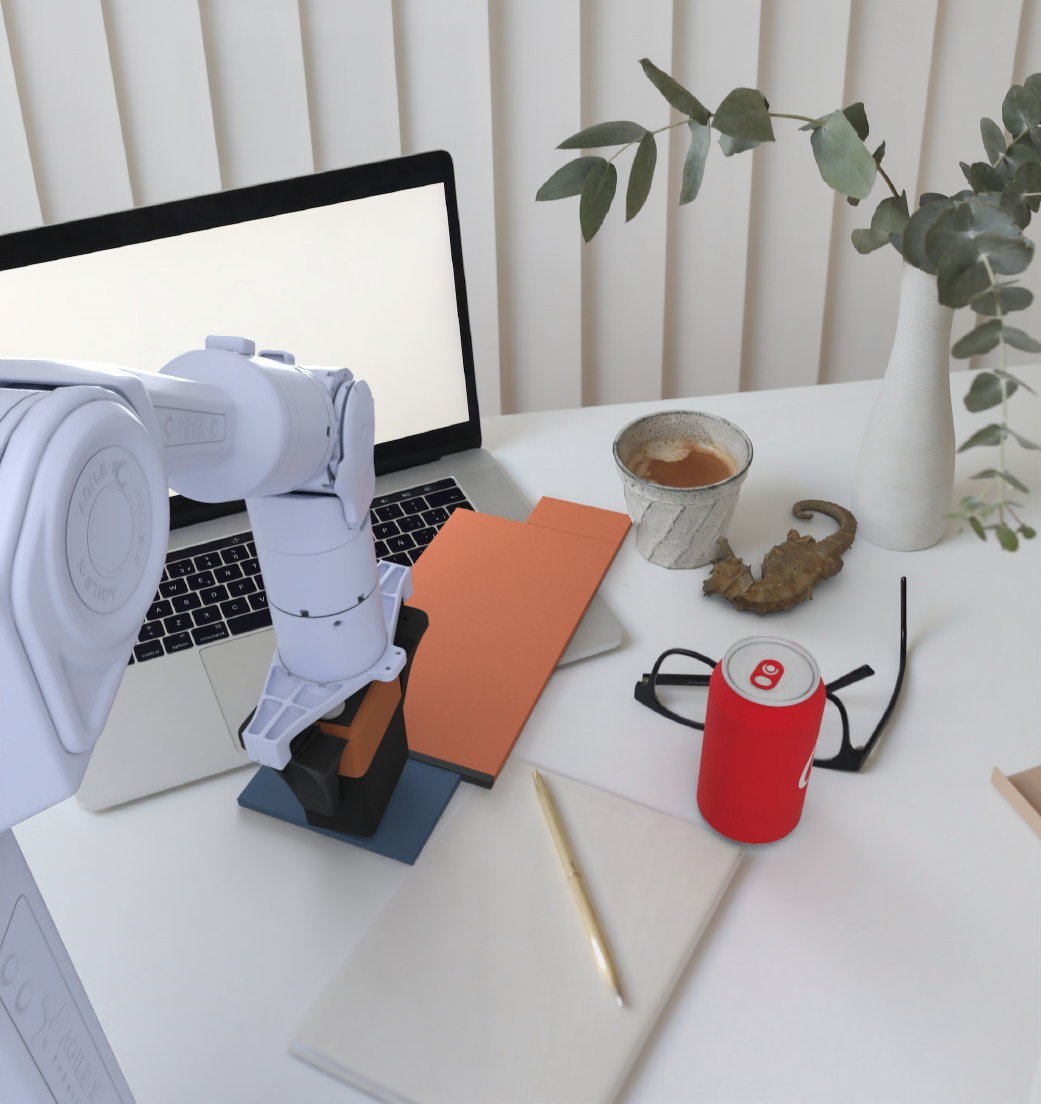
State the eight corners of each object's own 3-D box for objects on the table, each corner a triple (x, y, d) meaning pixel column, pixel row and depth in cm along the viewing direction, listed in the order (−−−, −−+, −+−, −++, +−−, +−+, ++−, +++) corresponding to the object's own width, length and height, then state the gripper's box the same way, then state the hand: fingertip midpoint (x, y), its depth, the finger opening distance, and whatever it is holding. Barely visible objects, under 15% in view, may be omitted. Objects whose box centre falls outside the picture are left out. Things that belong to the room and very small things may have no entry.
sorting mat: (444, 877, 61) (443, 870, 61) (237, 805, 66) (235, 797, 65) (634, 521, 87) (634, 514, 87) (477, 486, 91) (476, 479, 91)
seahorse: (904, 553, 83) (912, 521, 81) (755, 641, 76) (760, 608, 74) (813, 499, 89) (819, 468, 87) (668, 575, 82) (670, 543, 80)
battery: (412, 754, 67) (397, 637, 61) (374, 843, 62) (353, 725, 56) (347, 742, 68) (325, 626, 62) (304, 828, 63) (276, 711, 57)
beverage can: (815, 795, 65) (848, 653, 58) (776, 869, 61) (806, 727, 54) (720, 754, 68) (740, 613, 60) (677, 822, 64) (692, 681, 56)
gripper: (316, 698, 48) (352, 877, 57) (453, 517, 58) (466, 691, 67) (186, 659, 50) (240, 836, 59) (340, 490, 61) (367, 662, 69)
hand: (353, 757), depth 63 cm, fingers closed on battery, 7 cm apart
